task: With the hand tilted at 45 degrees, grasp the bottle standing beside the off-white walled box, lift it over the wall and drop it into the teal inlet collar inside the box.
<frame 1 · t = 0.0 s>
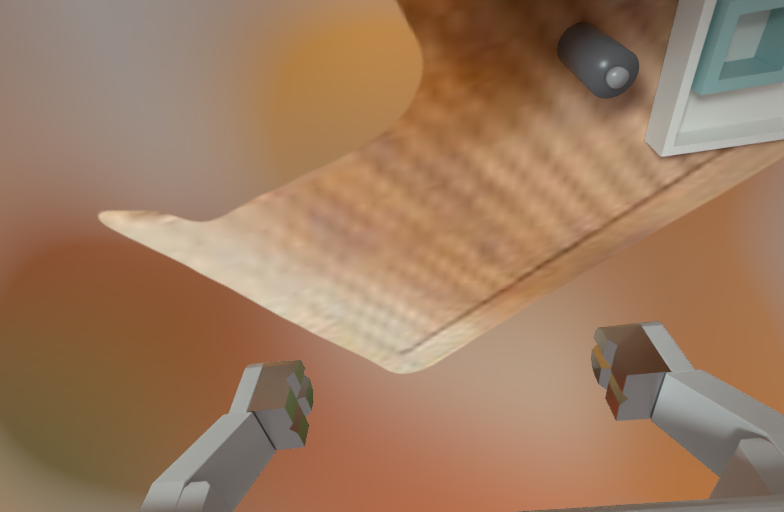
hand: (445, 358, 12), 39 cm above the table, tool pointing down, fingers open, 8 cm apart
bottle: (577, 44, 43), on the table
walled box: (755, 24, 41), on the table
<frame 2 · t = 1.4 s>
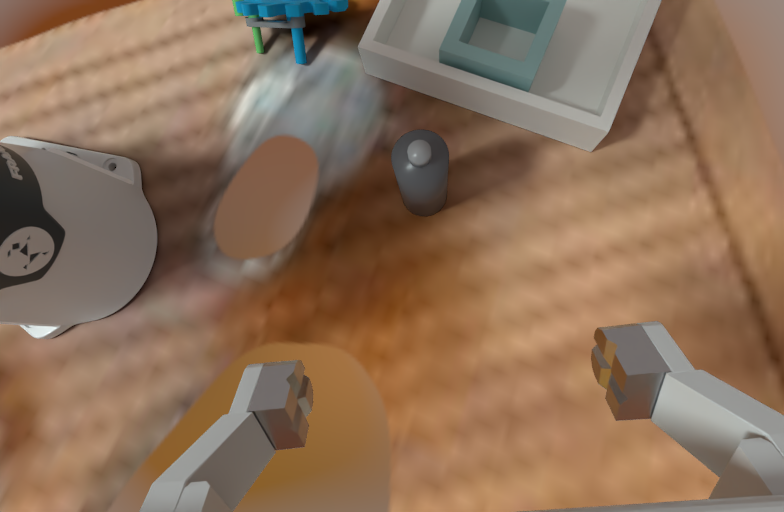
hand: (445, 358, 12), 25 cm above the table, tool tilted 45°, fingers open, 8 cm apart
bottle: (424, 194, 38), on the table
gear: (302, 34, 42), on the table
walled box: (505, 36, 40), on the table
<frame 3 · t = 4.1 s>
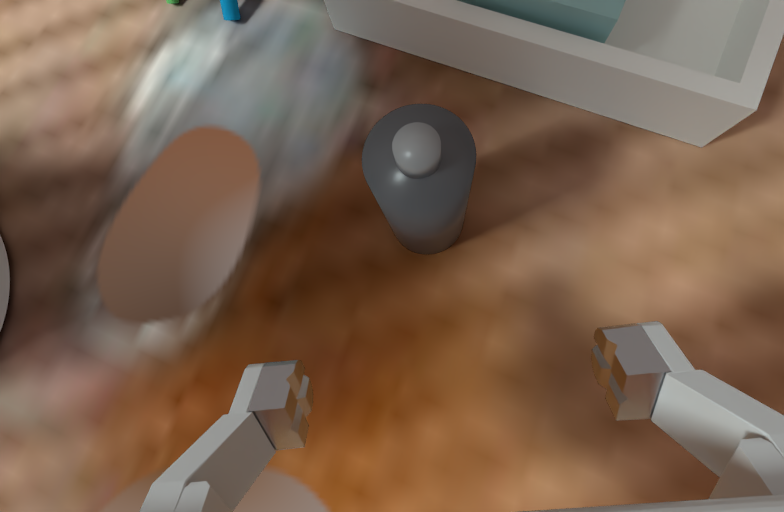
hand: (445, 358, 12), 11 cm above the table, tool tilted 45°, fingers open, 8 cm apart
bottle: (427, 219, 24), on the table
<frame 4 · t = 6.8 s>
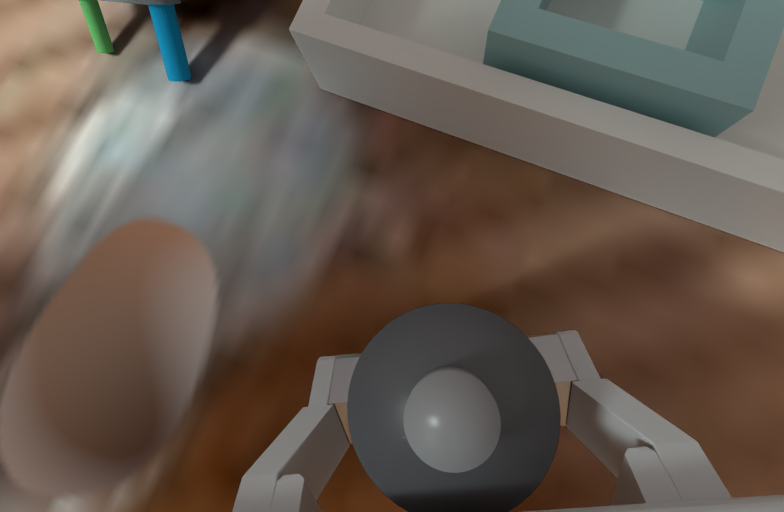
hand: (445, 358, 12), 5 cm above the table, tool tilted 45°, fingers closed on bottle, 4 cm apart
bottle: (447, 364, 17), on the table, touching gripper
gear: (192, 20, 21), on the table
walled box: (620, 6, 18), on the table
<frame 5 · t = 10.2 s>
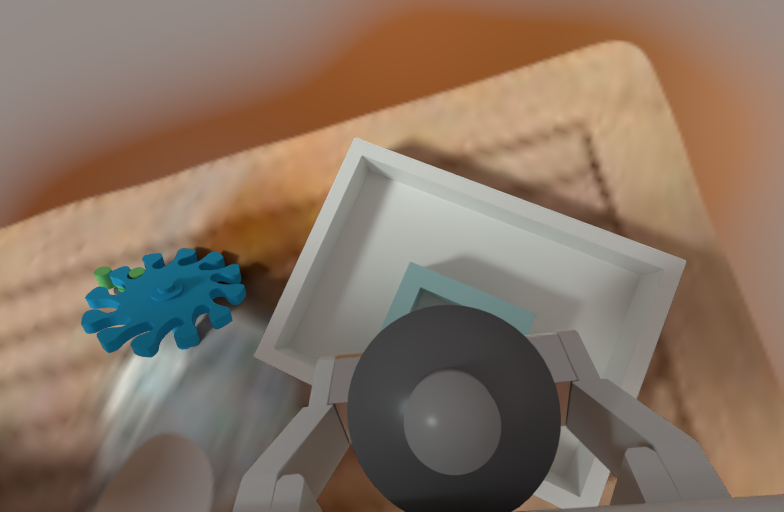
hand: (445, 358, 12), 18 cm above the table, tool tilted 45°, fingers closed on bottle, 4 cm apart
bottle: (447, 365, 17), point 13 cm above the table, touching gripper
gear: (195, 297, 33), on the table
walled box: (458, 312, 30), on the table
when the fingers open (8 cm above the table, at t = 13.4 s): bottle drops 1 cm, resting on walled box.
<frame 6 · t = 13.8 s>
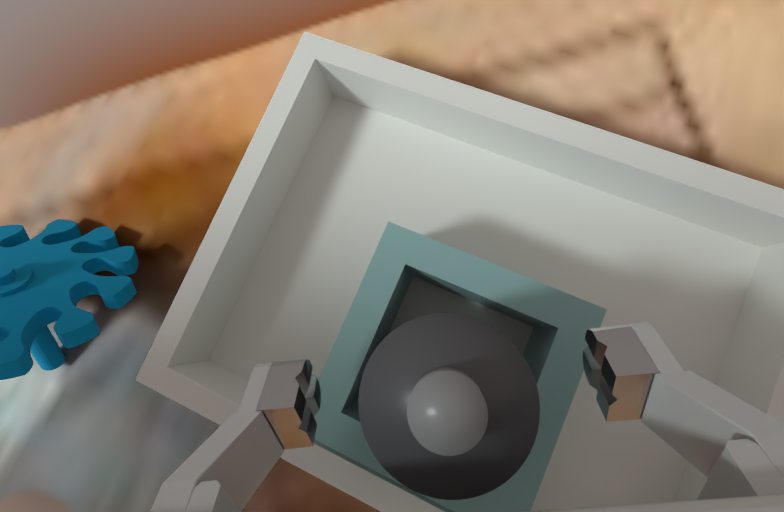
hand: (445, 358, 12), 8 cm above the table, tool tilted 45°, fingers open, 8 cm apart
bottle: (446, 362, 18), point 1 cm above the table, touching walled box
gear: (76, 293, 22), on the table
walled box: (468, 308, 19), on the table
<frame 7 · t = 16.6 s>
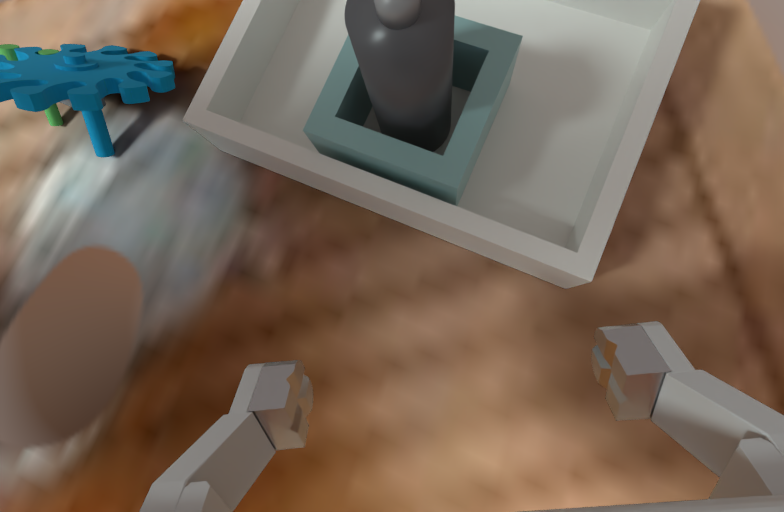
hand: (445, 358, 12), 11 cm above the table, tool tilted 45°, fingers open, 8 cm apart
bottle: (415, 123, 24), point 1 cm above the table, touching walled box
gear: (124, 107, 28), on the table
walled box: (433, 93, 25), on the table
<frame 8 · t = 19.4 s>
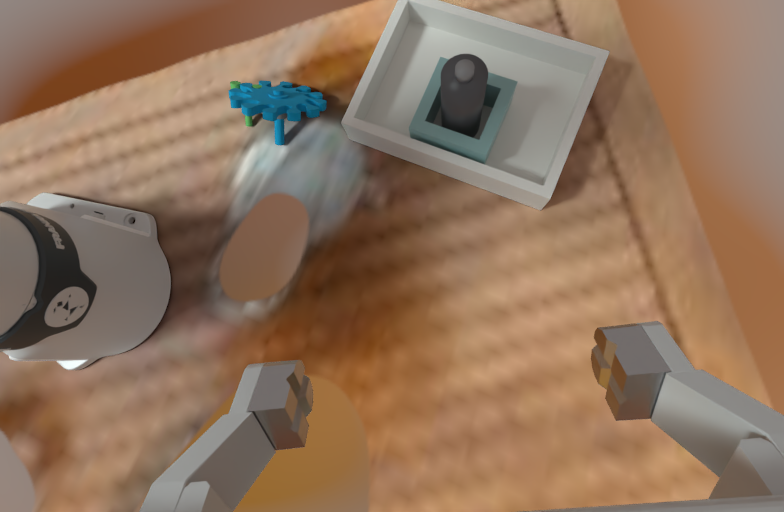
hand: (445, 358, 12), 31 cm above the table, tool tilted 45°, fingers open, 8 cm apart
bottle: (460, 124, 45), point 1 cm above the table, touching walled box
gear: (287, 116, 49), on the table
walled box: (469, 107, 46), on the table
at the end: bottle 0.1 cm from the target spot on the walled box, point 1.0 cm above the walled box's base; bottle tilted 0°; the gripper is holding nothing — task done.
